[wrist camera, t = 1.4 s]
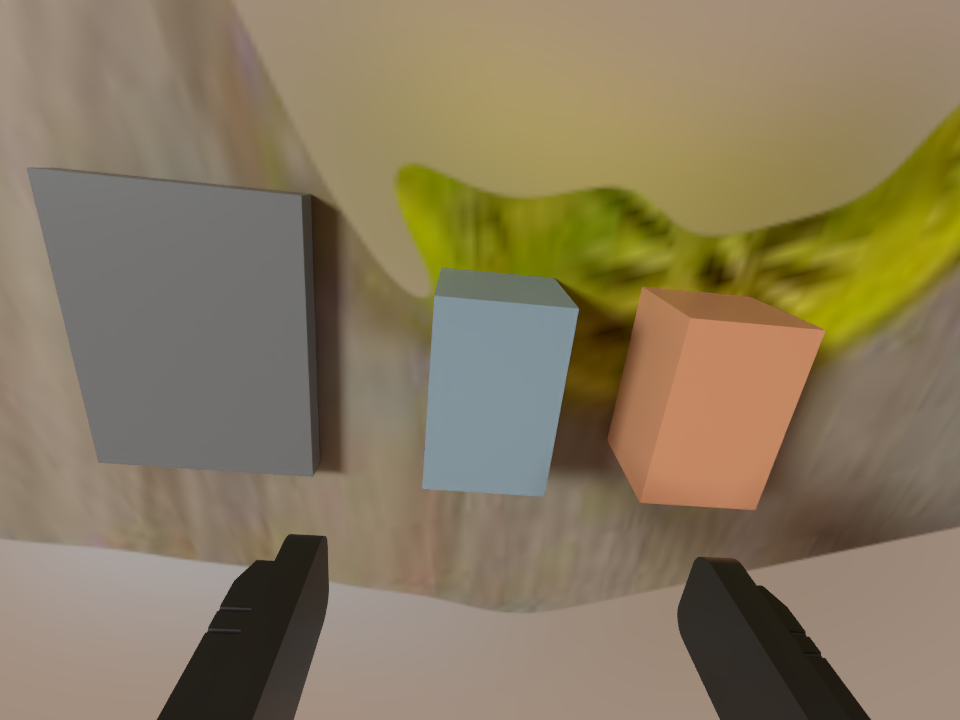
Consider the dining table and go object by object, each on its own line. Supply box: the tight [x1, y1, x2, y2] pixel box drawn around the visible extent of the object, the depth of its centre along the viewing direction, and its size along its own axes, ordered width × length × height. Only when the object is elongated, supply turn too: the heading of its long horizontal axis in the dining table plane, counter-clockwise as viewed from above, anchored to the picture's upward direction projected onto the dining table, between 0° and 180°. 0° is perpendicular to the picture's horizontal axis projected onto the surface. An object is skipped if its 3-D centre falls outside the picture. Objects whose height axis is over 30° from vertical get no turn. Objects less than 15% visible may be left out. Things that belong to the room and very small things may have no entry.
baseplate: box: [27, 168, 320, 477], centre depth 21 cm, size 10×13×1 cm
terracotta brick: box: [607, 287, 826, 510], centre depth 20 cm, size 5×8×5 cm, turn 174°
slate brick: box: [422, 268, 579, 497], centre depth 20 cm, size 5×8×5 cm, turn 175°
